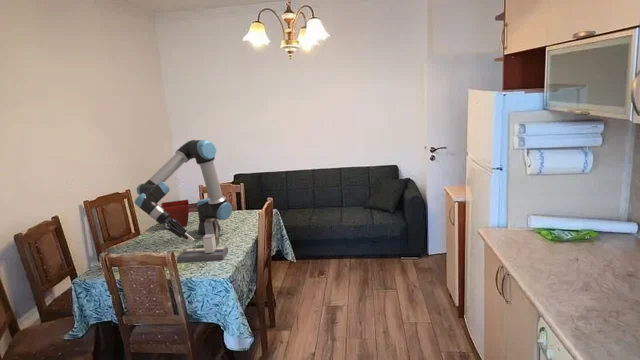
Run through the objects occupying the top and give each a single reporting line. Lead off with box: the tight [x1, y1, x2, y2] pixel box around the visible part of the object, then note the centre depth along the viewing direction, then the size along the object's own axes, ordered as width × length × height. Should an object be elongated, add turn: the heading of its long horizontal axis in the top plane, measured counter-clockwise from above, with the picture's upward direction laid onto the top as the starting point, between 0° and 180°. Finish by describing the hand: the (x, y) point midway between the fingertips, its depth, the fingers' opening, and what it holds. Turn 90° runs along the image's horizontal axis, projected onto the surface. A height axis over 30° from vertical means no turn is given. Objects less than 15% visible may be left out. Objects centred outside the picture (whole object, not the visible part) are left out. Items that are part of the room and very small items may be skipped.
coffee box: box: [204, 218, 220, 248], centre depth 261 cm, size 9×6×16 cm
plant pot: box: [160, 199, 190, 228], centre depth 309 cm, size 19×19×17 cm
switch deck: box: [176, 246, 229, 263], centre depth 242 cm, size 26×12×3 cm, turn 88°
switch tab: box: [202, 234, 217, 253], centre depth 241 cm, size 5×6×9 cm
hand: (192, 241), depth 241 cm, fingers closed
